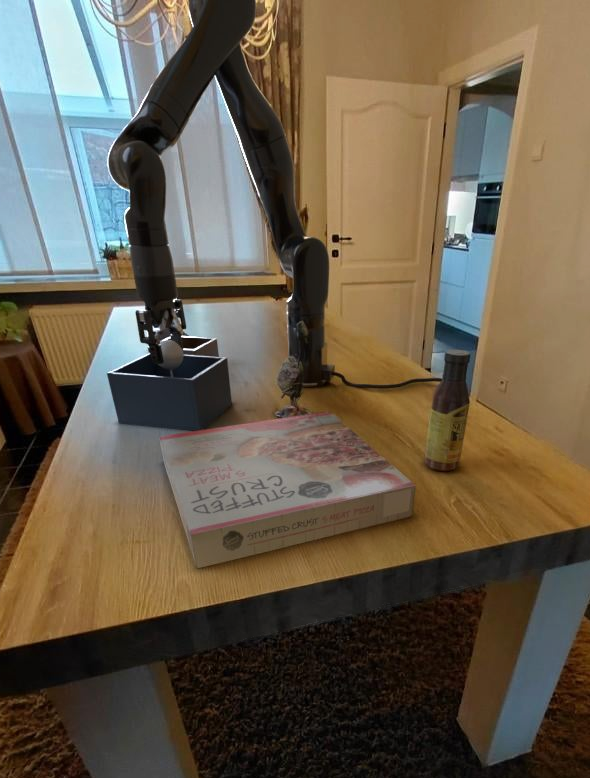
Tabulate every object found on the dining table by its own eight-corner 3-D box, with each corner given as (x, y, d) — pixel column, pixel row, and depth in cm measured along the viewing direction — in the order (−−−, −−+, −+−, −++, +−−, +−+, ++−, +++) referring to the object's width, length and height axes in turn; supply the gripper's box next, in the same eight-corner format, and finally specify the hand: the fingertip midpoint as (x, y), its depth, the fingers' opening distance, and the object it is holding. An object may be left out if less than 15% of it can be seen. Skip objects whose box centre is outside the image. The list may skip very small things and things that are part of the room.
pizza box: (329, 411, 96) (415, 485, 71) (329, 436, 99) (412, 516, 74) (158, 436, 85) (190, 534, 60) (164, 464, 88) (196, 568, 63)
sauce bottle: (451, 476, 85) (469, 360, 74) (418, 467, 88) (430, 353, 77) (464, 462, 90) (483, 350, 79) (432, 453, 92) (446, 345, 82)
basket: (219, 363, 142) (216, 338, 138) (198, 377, 131) (195, 350, 127) (176, 360, 145) (172, 335, 141) (152, 373, 133) (147, 347, 130)
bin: (232, 403, 114) (227, 357, 108) (200, 431, 100) (192, 380, 95) (159, 397, 117) (150, 352, 112) (118, 423, 104) (106, 373, 98)
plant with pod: (305, 404, 114) (303, 313, 103) (316, 422, 105) (315, 324, 94) (270, 407, 112) (264, 314, 102) (278, 426, 103) (273, 326, 92)
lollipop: (197, 409, 109) (187, 339, 101) (177, 417, 105) (165, 345, 97) (178, 403, 112) (167, 335, 104) (157, 411, 108) (144, 340, 100)
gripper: (152, 277, 87) (168, 368, 96) (189, 268, 99) (200, 350, 108) (114, 275, 89) (133, 366, 97) (155, 267, 100) (169, 348, 109)
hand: (168, 358), depth 102 cm, fingers open, 8 cm apart
